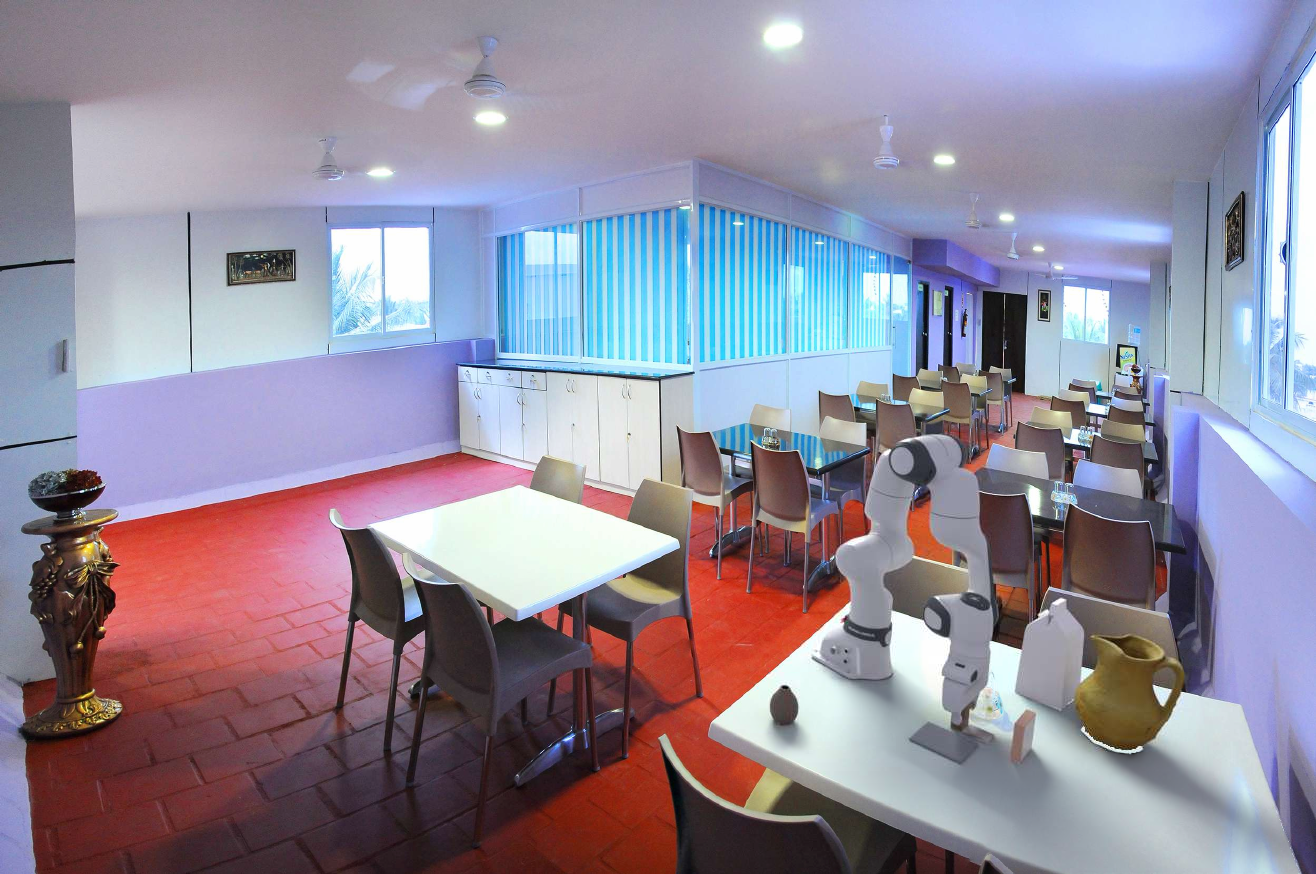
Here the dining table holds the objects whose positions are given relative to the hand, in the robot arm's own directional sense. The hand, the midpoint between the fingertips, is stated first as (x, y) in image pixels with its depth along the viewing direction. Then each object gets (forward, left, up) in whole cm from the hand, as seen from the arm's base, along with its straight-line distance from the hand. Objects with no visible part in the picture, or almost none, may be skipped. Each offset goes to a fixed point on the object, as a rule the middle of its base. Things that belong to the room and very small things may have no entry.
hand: (964, 715), depth 166 cm
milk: (+9, +33, -4) cm, 34 cm away
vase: (-32, -29, -4) cm, 43 cm away
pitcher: (+27, +22, -4) cm, 35 cm away
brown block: (+2, 0, -3) cm, 4 cm away
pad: (-1, -9, -3) cm, 10 cm away
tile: (+13, 0, -3) cm, 14 cm away
